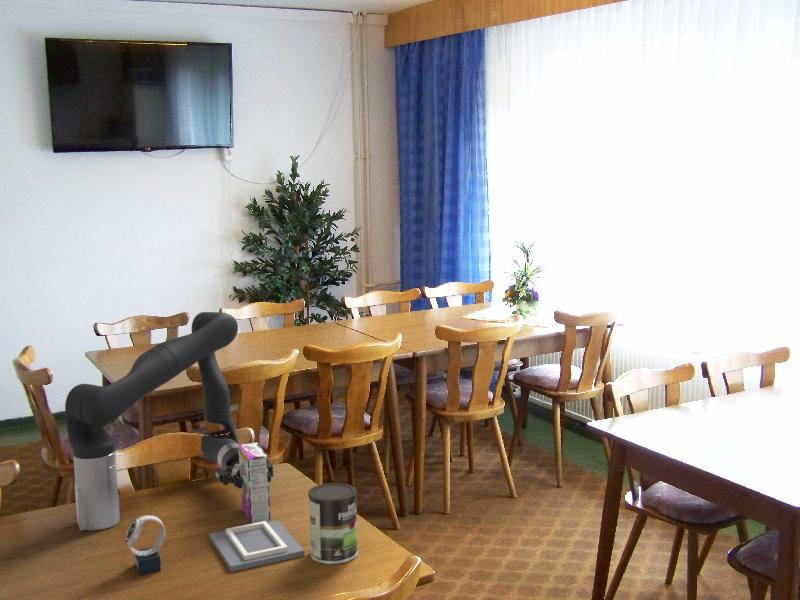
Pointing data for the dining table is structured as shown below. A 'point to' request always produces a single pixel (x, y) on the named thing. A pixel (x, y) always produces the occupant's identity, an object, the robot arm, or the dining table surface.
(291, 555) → the collar plate
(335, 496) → the coffee can
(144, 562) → the watch
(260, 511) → the candy bar box
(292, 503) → the dining table surface
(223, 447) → the robot arm
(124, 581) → the dining table surface
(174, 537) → the dining table surface
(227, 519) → the dining table surface
